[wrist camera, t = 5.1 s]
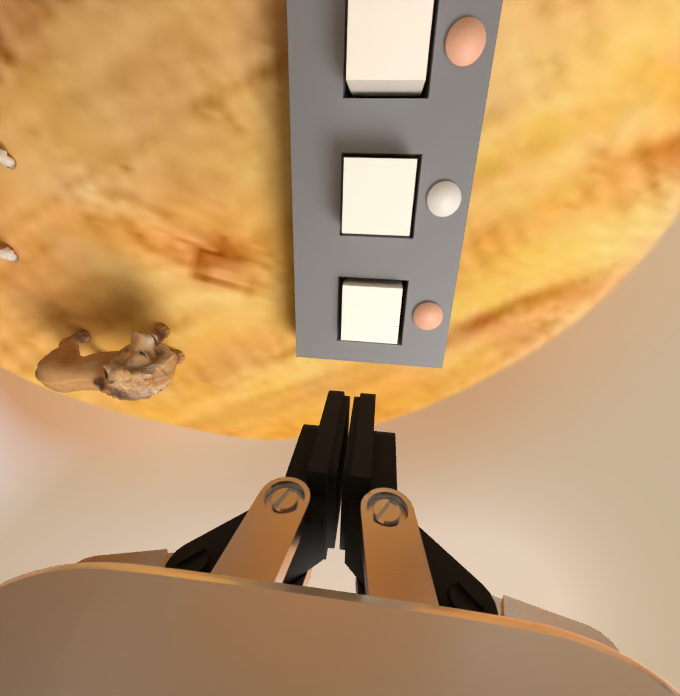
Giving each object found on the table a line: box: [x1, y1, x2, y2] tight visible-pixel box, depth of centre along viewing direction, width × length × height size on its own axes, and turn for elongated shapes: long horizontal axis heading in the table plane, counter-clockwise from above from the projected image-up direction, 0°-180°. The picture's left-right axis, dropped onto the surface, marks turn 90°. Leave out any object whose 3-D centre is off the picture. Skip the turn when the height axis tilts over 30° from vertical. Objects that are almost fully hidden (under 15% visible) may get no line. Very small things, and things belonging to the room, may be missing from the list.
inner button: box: [346, 0, 434, 96], centre depth 19 cm, size 4×4×4 cm
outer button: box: [341, 277, 403, 344], centre depth 26 cm, size 4×4×4 cm
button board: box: [287, 0, 503, 368], centre depth 23 cm, size 23×11×3 cm, turn 178°
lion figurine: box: [35, 324, 184, 401], centre depth 28 cm, size 15×5×9 cm, turn 105°
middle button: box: [342, 158, 417, 236], centre depth 22 cm, size 4×4×4 cm
